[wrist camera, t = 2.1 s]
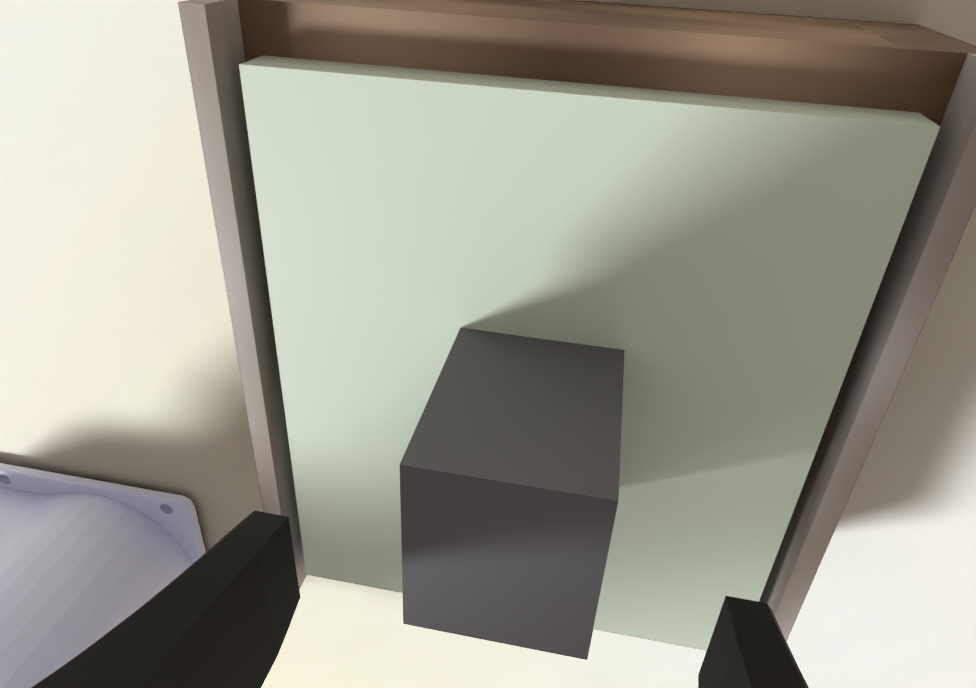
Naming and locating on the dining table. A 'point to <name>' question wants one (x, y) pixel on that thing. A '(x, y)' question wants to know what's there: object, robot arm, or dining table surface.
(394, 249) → the sliding lid
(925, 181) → the wooden box
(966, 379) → the dining table surface
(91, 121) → the dining table surface
